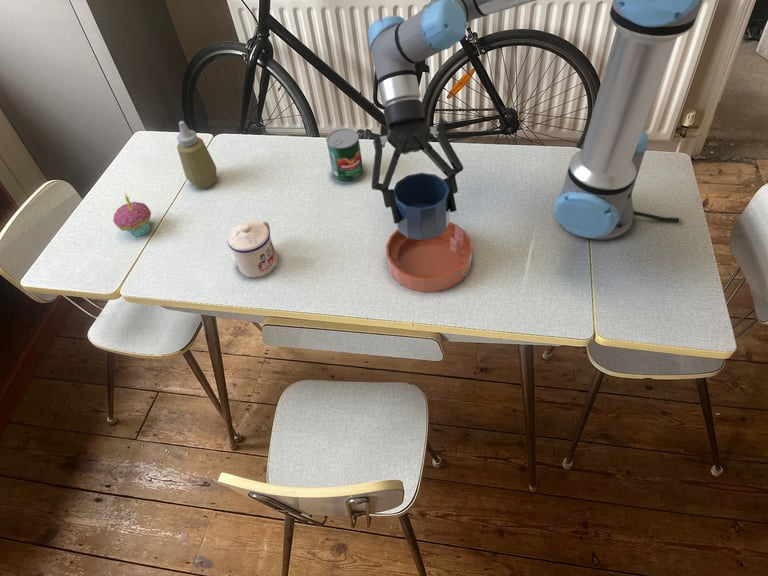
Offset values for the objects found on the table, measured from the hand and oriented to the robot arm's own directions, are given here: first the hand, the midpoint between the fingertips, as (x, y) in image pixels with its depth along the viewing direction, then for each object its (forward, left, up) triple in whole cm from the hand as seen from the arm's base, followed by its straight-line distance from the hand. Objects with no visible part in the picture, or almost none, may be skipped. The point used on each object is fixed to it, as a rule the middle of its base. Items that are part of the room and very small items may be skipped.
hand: (425, 217), depth 112 cm
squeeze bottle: (+64, -17, -16) cm, 68 cm away
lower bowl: (0, -3, -16) cm, 16 cm away
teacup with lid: (+37, +5, -16) cm, 41 cm away
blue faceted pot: (+1, -3, -4) cm, 5 cm away
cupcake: (+71, +3, -16) cm, 73 cm away
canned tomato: (+28, -28, -16) cm, 43 cm away
